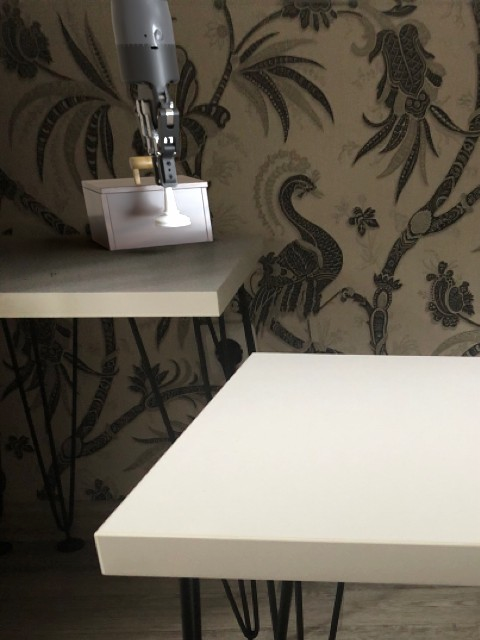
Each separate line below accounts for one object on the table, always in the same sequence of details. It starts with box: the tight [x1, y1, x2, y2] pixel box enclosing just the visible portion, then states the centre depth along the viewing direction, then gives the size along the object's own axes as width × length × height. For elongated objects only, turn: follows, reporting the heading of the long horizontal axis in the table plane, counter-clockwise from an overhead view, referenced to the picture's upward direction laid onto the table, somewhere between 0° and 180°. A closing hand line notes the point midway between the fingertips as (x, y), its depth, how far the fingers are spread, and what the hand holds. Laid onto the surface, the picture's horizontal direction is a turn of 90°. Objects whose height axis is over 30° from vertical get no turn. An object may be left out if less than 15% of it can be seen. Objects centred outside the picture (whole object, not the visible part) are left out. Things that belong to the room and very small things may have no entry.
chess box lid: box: [81, 155, 209, 194], centre depth 137 cm, size 12×16×4 cm
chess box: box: [82, 186, 214, 251], centre depth 140 cm, size 12×16×9 cm
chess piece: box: [155, 163, 190, 227], centre depth 128 cm, size 5×5×10 cm
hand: (166, 185), depth 128 cm, fingers closed on chess piece
